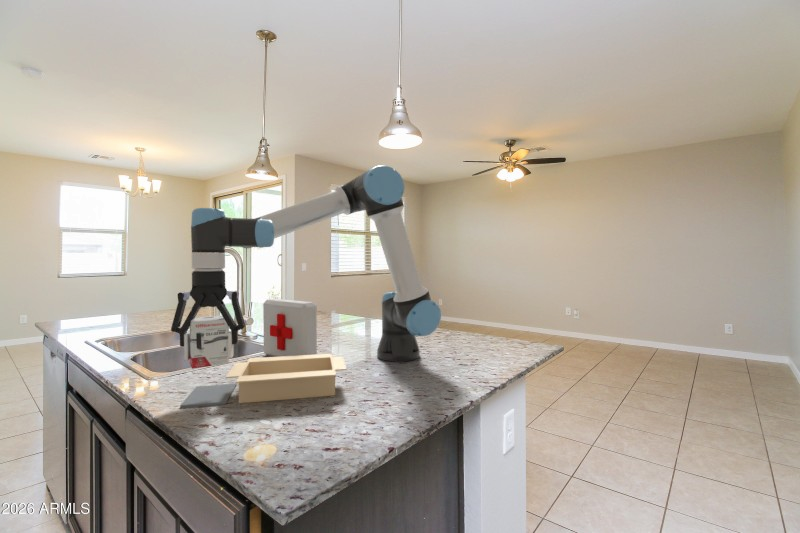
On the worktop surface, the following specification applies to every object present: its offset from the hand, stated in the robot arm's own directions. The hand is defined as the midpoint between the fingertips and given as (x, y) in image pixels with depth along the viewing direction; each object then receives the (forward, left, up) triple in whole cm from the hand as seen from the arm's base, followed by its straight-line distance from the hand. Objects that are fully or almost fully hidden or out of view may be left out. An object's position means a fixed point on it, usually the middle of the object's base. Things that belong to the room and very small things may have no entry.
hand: (209, 357), depth 96 cm
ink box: (0, 0, -2) cm, 2 cm away
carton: (-20, 0, -10) cm, 22 cm away
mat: (0, 0, -10) cm, 10 cm away
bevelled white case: (-18, -32, -10) cm, 38 cm away
